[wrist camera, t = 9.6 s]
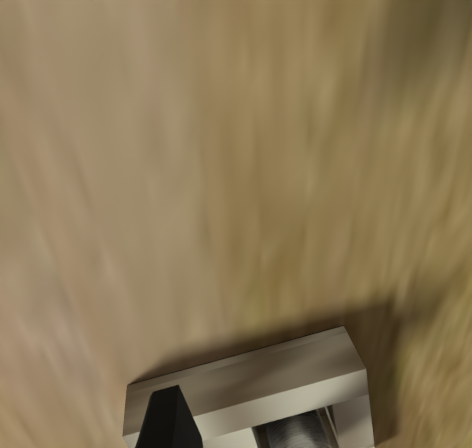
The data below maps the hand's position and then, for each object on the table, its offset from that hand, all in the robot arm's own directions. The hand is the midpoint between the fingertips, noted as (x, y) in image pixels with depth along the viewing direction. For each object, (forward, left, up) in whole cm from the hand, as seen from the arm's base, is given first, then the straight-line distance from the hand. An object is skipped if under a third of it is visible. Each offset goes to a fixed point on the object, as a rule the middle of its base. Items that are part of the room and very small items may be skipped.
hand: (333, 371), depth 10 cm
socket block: (+3, +15, -10) cm, 18 cm away
